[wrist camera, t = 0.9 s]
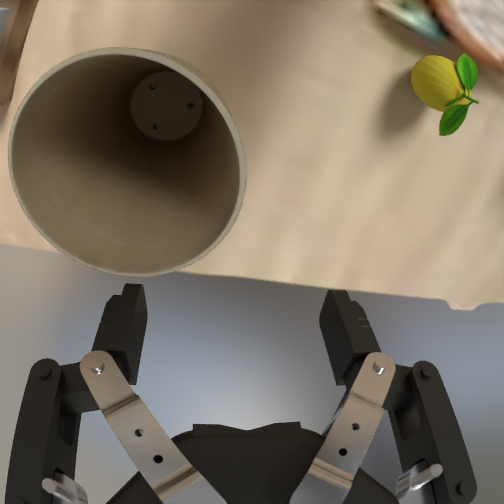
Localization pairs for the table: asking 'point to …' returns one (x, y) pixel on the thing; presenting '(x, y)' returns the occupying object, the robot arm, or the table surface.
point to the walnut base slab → (13, 42)
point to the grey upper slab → (3, 19)
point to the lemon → (445, 88)
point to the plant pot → (127, 161)
